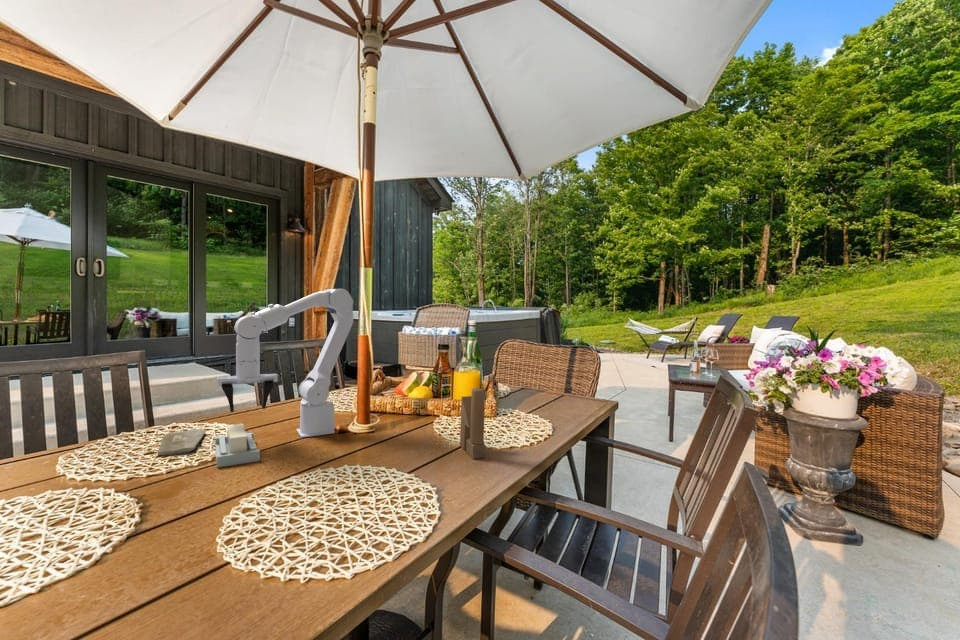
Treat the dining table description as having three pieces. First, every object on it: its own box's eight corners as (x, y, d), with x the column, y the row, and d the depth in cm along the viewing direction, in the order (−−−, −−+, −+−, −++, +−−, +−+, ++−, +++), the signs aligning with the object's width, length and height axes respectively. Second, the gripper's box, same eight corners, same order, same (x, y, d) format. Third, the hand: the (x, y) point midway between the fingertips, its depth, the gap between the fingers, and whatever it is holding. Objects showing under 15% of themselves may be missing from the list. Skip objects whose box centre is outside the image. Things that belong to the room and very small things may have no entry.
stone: (164, 433, 122) (206, 425, 126) (166, 443, 122) (207, 435, 126) (151, 449, 105) (199, 440, 110) (153, 461, 105) (201, 451, 110)
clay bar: (227, 443, 114) (227, 425, 114) (242, 441, 116) (242, 423, 116) (230, 458, 104) (230, 438, 104) (246, 456, 106) (246, 436, 106)
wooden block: (471, 444, 123) (473, 382, 122) (485, 458, 113) (488, 390, 112) (459, 446, 122) (461, 383, 121) (472, 459, 112) (474, 391, 111)
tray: (253, 441, 119) (253, 430, 119) (259, 460, 106) (259, 448, 106) (215, 446, 114) (215, 435, 114) (217, 467, 101) (217, 455, 101)
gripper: (217, 364, 110) (217, 416, 110) (279, 360, 118) (279, 409, 119) (216, 360, 116) (216, 410, 116) (275, 357, 124) (275, 403, 124)
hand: (248, 409), depth 118 cm, fingers open, 7 cm apart
